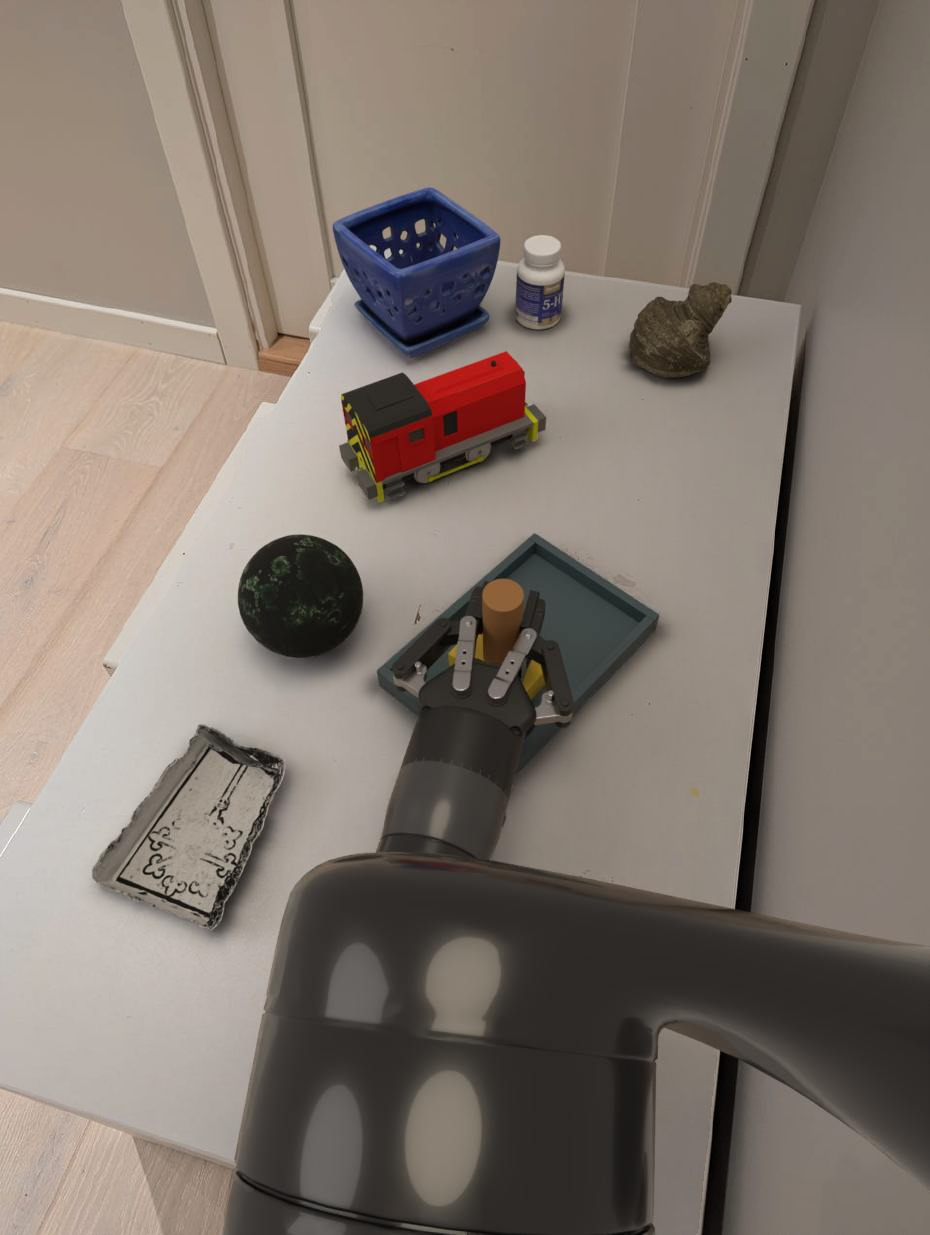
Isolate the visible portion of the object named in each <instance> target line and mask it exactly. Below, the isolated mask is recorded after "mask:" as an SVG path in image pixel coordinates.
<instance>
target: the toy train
mask: <svg viewBox="0 0 930 1235" xmlns="http://www.w3.org/2000/svg"><path fill="white" fill-rule="evenodd" d="M526 391H527V381H526V372H525V370H524V369H523V367H522V366H521V365H520V364H519V362H517V360H515V358H514V357H513V356H512V355H511V354H510V353H509V352H508V350H505V351H502V352H499V353H496V354H494V355H491V356H489V357H486V358H483V359H480V360H478V361H475V362H472V363H469V364H467V365H464V366H462V367H459V368H455V369H453V370H449V371H447V372H445V373H442V374H439V375H436V376H433V377H431V378H428V379H425V380H423V381H420V382H416V383H414V382H413V381H412V380H411V379H410V377H409V376H408V375H407V374H406V373H404V372H403V371H402V372H400V373H397V374H393V375H391V376H389V377H385V378H383V379H380V380H376V381H374V382H371V383H369V384H366V385H363V386H361V387H358V388H354V389H352V390H349V391H347V392H343V393H341V394H340V399H341V400H340V402H341V408H342V412H343V413H342V414H343V419H344V424H345V431H346V437H347V440H346V442H344V443H342V444H339V445H338V448H339V453H340V454H339V455H340V458H341V460H342V461H343V463H344V465H345V467H347V468H348V470H349V472H350V473H352V472H356V476H357V482H358V486H359V487H360V489H361V490H362V492H363V494H364V495H365V496H366V498H367V500H369V501H370V500H372V499H375V498H376V500H377V501H378V503H382V502H385V495H384V494H385V493H384V490H386V496H387V498H388V499H389V501H391V500H394V499H397V498H399V497H402V496H405V495H406V491H405V490H404V486H406V485H405V482H406V481H409V480H411V479H414V480H415V481H416V482H418V483H421V484H422V483H423V484H426V483H432V482H433V481H434V480H437V479H440V478H442V477H444V476H447V475H449V474H452V473H454V472H458V471H459V470H462V469H464V468H468V467H469V466H472V465H475V464H478V463H482V462H483V461H484V460H485V459H486V458H487V457H488V456H489V455H490V453H491V450H492V449H491V448H493V447H495V446H499V445H501V444H503V443H506V442H508V441H510V440H511V447H512V448H513V449H514V450H515V451H517V450H519V449H521V448H524V447H527V446H528V445H529V444H528V442H527V441H526V439H529V440H531V442H536V441H538V436H539V433H541V432H543V431H546V428H547V416H546V415H545V414H544V412H542V410H541V409H540V408H539V407H538V406H537V404H535V403H533V404H531V405H528V403H527V402H526V394H527V392H526ZM462 459H465V460H466V461H467V462H465V463H463V464H461V465H459V466H456V467H454V468H451V469H449V470H446V471H444V472H440V471H441V468H443V467H445V466H447V465H450V464H452V463H455V462H457V461H460V460H462Z"/></svg>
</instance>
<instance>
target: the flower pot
mask: <svg viewBox="0 0 930 1235" xmlns="http://www.w3.org/2000/svg"><path fill="white" fill-rule="evenodd" d="M423 220H424V227H425V230H424V231H422V232H419V233H417V230H416V224H417V223H418V222H419V221H423ZM388 228H389V230H390V236H388V237H386V238H384V233H383V232H384V231H385V230H386V229H388ZM332 232H333V233H332V234H333V237H334V241H335V245H336V249H337V252H338V256H339V258H340V261H341V264H342V266H343V269H344V271H345V273H346V276H347V278H348V279H349V282H350V283H351V285H352V287H353V288H354V290H355V292H356V293H357V295H358V297H359V298H360V299H359V300H356V301H355V302H354V307H355V309H356V310H357V311H358V312H359V314H361V316H362V317H364V319H365V320H367V321H368V323H370V324H371V325H372V326H373V327H374V328H375V329H376V330H377V331H378V332H380V333H381V335H383V336H384V337H385V338H386V339H387V340H388V341H389V342H390V343H392V345H394V347H395V348H397V349H398V350H399V351H400V352H401V353H403V354H404V355H405V356H406V357H408V358H411V359H412V358H415V357H418V356H421V355H423V354H424V353H428V352H430V351H432V350H435V349H437V348H439V347H442V346H444V345H446V344H448V343H451V342H453V341H455V340H458V339H460V338H462V337H464V336H466V335H468V334H470V333H472V332H475V331H477V330H479V329H480V328H482V327H483V326H484V325H486V323H487V322H488V321H489V320H490V317H491V315H490V313H489V312H488V311H487V310H486V309H485V308H483V307H482V305H481V304H482V302H483V300H484V299H485V297H486V295H487V292H488V291H489V289H490V286H491V284H492V282H493V278H494V276H495V272H496V270H497V266H498V262H499V257H500V256H499V255H500V249H501V236H500V234H499V233H497V231H495V230H494V229H493V228H492V227H491V226H489V225H487V224H486V223H485V222H484V221H483V220H481V219H480V218H478V217H477V216H476V215H474V214H473V213H471V212H470V211H468V210H467V209H466V208H464V207H463V206H462V205H460V204H459V203H457V202H455V201H454V200H453V199H452V198H451V197H449V196H447V195H445V193H443V192H441V191H440V190H438V189H436V188H434V187H430V186H429V187H424V188H421V189H417V190H415V191H411V192H408V193H404V194H402V195H399V196H396V197H394V198H391V199H388V200H385V201H382V202H380V203H377V204H373V205H372V206H367V207H366V208H364V209H361V210H358V211H355V212H353V213H351V214H348V215H346V216H344V217H341V218H340V219H338V220H335V221H334V222H333V224H332ZM403 232H406V237H405V239H402V235H403ZM442 236H443V237H444V238H445V244H444V246H443V245H442V244H441V237H442ZM418 244H419V245H418ZM417 245H418V246H417ZM371 246H372V247H375V249H373V248H372V247H371ZM387 250H389V251H390V256H388V257H386V255H385V252H386V251H387ZM400 251H402V252H401V253H400Z"/></svg>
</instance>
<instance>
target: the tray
mask: <svg viewBox="0 0 930 1235" xmlns="http://www.w3.org/2000/svg"><path fill="white" fill-rule="evenodd" d="M497 579H509V580H512V581H515V582H516V583H518V584H519V585H520V586H521V588H522V589H523V592H524V606H523V614H524V611H525V607H526V604H527V600H528V596H529V593H530V590H534V591H539V592H540V594H539V599H544V600H545V605H546V606H545V617H544V620H543V624H542V628H541V632H540V636H541V638H543V639H544V640H546V641H548V640H553V641H555V642H557V643H558V645H559V648H560V652H561V656H562V660H563V664H564V667H565V671H566V675H567V679H568V683H569V687H570V690H571V694H572V698H573V702H574V707H573V713H572V718H573V717H574V716H575V715H576V714H577V712H579V710H581V709H582V707H583V706H585V705H586V703H588V701H589V700H590V699H591V698H592V697H593V696H594V695H595V694H596V693H597V692H598V691H599V690H600V689H601V688H602V687H603V686H604V684H605V683H606V682H607V681H608V680H609V679H611V677H612V676H613V675H614V674H615V673H616V672H617V671H618V670H619V669H620V668H622V666H623V665H624V664H625V663H626V662H627V661H628V660H629V659H630V658H631V656H632V655H634V653H635V652H636V651H637V650H638V649H639V648H640V647H641V646H643V644H644V643H645V642H646V641H647V640H648V639H649V638H650V637H651V636H652V635H653V634H654V632H656V630H657V626H658V623H659V619H660V616H661V615H660V613H658V612H656V611H655V610H654V609H653V608H650V607H649V606H647V605H646V604H645V603H642V602H641V601H640V600H638V599H636V598H635V597H633V595H630V594H629V593H627V592H626V591H624V590H623V589H621V588H620V587H618V586H617V585H615V584H614V583H612V582H610V581H609V580H607V579H606V578H604V577H603V576H601V575H600V574H598V573H596V572H595V571H593V569H590V568H589V567H587V566H586V565H584V564H583V563H582V562H580V561H578V560H577V559H575V558H574V557H572V556H571V555H569V554H568V553H566V552H565V551H563V550H561V549H560V548H558V547H556V546H555V545H554V544H552V543H551V542H549V541H548V540H546V538H543V537H542V536H540V535H539V534H537V533H535V532H534V533H532V535H530V536H529V537H528V538H527V539H526V540H525V541H523V542H522V543H521V544H520V545H519V546H518V547H517V548H515V550H513V551H512V552H511V553H509V554H508V555H507V556H506V557H505V558H504V559H503V560H502V561H500V562H499V563H498V564H497V565H496V566H494V567H493V568H492V569H491V570H490V571H489V572H488V573H486V575H484V576H483V577H482V578H481V579H480V580H478V581H477V582H476V583H475V584H474V585H473V586H472V587H470V588H469V589H468V590H467V591H466V592H465V593H464V594H463V595H461V596H460V597H459V598H458V599H457V600H456V601H454V603H452V604H451V605H450V606H449V607H448V608H446V609H445V610H444V611H443V612H442V613H440V615H438V616H437V617H436V618H435V619H434V620H432V621H431V622H430V623H429V624H428V625H427V626H426V627H425V628H424V629H422V630H421V631H420V632H418V634H417V635H415V636H414V637H413V638H412V639H411V640H409V641H408V642H407V643H406V644H405V645H404V646H403V647H401V649H400V650H398V651H397V652H396V653H395V654H394V655H392V657H390V658H389V659H388V660H387V661H385V663H384V664H382V665H381V666H379V667H378V669H376V676H377V679H378V685H379V687H381V688H382V689H383V690H385V691H386V692H387V693H388V694H389V695H391V696H392V697H393V698H395V699H396V700H397V701H398V702H399V703H400V704H402V706H404V707H406V709H408V710H409V711H410V712H411V713H413V714H414V715H415V716H416V717H417V718H418V715H419V712H420V707H419V700H418V698H417V697H416V696H415V695H413V694H412V693H410V692H409V691H405V692H401V691H398V690H397V689H396V687H395V683H394V679H393V671H392V665H393V664H394V662H395V661H396V660H397V659H398V658H399V657H400V656H401V655H402V654H403V653H404V652H405V651H406V650H407V649H408V648H409V647H410V646H411V645H412V644H413V643H414V642H415V641H416V640H417V639H418V638H419V637H420V636H421V635H422V634H423V633H424V632H425V631H426V630H427V629H428V628H429V627H430V626H431V625H432V624H433V623H434V622H435V621H436V620H438V619H439V618H447V619H449V620H450V621H458V620H460V619H462V618H463V617H464V615H465V613H466V610H467V607H468V604H469V601H470V598H471V595H472V592H473V590H474V589H475V588H476V587H477V586H479V587H483V583H484V581H489V582H492V581H494V580H497ZM455 646H456V645H451V646H450V647H449V649H448V650H447V651H446V652H445V653H444V654H443V655H442V656H441V657H440V658H439V659H438V660H437V661H436V662H435V663H434V664H433V665H432V666H431V667H430V668H429V669H428V670H427V679H426V681H425V683H427V682H428V681H430V680H431V679H433V678H434V677H435V676H437V675H438V674H440V673H441V672H443V671H444V670H446V669H447V668H448V667H449V657H448V653H449V652H450V651H451V650H452V649H453V648H454V647H455ZM545 692H547V689H546V685H545V686H544V687H543V688H542V689H541V690H540V691H539V692H538V693H537V695H536V696H535V697H534V698H533V699H532V700H531V701H532V703H533V706H534V708H535V707H538V706H539V705H540V704H541V698H542V695H543V693H545ZM560 730H562V728H560V727H558V726H557V725H556V724H555V722H554V723H547V724H540V725H536V726H535V729H534V730H533V732H532V733H531V734H530V735H529V736H528V737H527V738H526V739H525V741H524V743H523V747H522V750H521V754H520V758H519V762H518V766H517V770H516V774H515V777H516V776H517V775H518V774H519V773H520V772H521V771H522V770H523V769H524V768H525V767H526V766H527V765H528V764H529V762H531V760H532V759H533V758H534V757H536V755H538V753H539V752H540V751H541V750H542V749H543V748H544V747H545V746H546V745H547V744H548V743H549V742H550V741H551V740H552V739H553V738H554V737H555V735H557V733H558V732H559V731H560Z"/></svg>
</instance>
